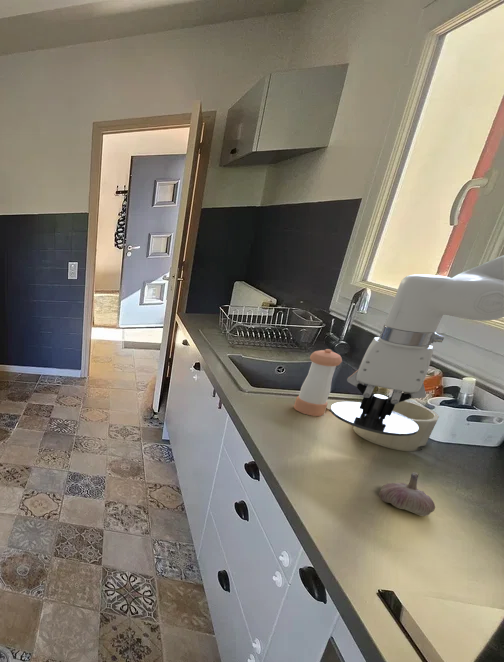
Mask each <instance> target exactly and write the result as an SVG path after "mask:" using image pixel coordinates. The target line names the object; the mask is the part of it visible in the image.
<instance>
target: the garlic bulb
mask: <svg viewBox="0 0 504 662" xmlns="http://www.w3.org/2000/svg"><path fill="white" fill-rule="evenodd" d="M418 479H419V472H416V471H413V472H412V473H410V479H409V482H408V484H406V483H404V482H389V483H385V484H383V486H382V487H381V488H380V491H379V493H378V496H379V498H380V500H381V501H382V502H384V503H386V504H391V505H392V506H393V507H395V508H397V509H399V510H405V511H407V512H410V513H413V514H414V515H417V516H420V517H427V516H429V515H430V514H431V513H433V512H434V511H435V509H436V505H435V502H434V500H433V499H432V498H431V497H430V496H429V495H428V494H426V493H425V492H424V490H421V489H418V486H417V484H418Z"/></svg>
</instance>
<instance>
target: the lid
mask: <svg viewBox="0 0 504 662" xmlns="http://www.w3.org/2000/svg"><path fill="white" fill-rule="evenodd" d="M372 396H373V397H372V402H371V404H370V407H369V409H368V412H367V414H365V415H363V414H362V411H363V409H359V408H360V405H361V402H357V401H337V402H334V403H333V404H331V405H330V408H329V411H330V413H331V414H332V415H333V416H335V418H337V419H338V420H340V421H342V422H343V423H346V424H348V425H351V426H352V427H353V426H355V427H358V428H361V429H364V430H367V431H371V432H375V433H380V434H385V435H393V436H410V435H414V434H416V433H417V432H418V430H419V427H418V425H417V424H416V423H415V422H414V421H413V420H411V419H410V418H408V417H406V416H404V415H402V414H400V413H397V412H395V411H392V413H391V416H388V415H386V417H385V419H384V420H383V419H381V418H380V416H381V414H382V411H383V409H384V407H385V404H386V402H387V400H388V397H389V396H386V395H383V394H379V393H375V394H373V395H372Z"/></svg>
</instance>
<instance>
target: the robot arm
mask: <svg viewBox="0 0 504 662" xmlns="http://www.w3.org/2000/svg"><path fill="white" fill-rule="evenodd" d="M443 316H449V317H455V318H460V319H465V320H471V321H478V322H480V321H481V322H482V321H483V322H484V321H493V320H498V319H502V318H504V254H503V255H500V256H498V257H495V258H493V259H491V260H488V261H485V262H484V263H481V264H479V265H477V266H474V267H472V268H469V269H467V270H465V271H461V272H460V273H458V274H456V275H454V276H453V277H449V276H444V275H438V274H424V273H423V274H422V273H420V274H419V273H418V274H417V273H416V274H409V275H407V276H405V277H403V278H402V279H401V281H400V283H399V286H398V288H397V290H396V294H395V296H394V298H393V301H392V304H391V306H390V309H389V312H388V314H387V316H386V319H385V321H384V324H383V327H382V329H381V332H380V335H379V336H375V337H374V338H373V339H372V340H371V342H370V344H369V345H368V347H367V348H366V351H365V354H364V355H363V357H362V358H361V359H362V360H361V361H360V364H359V366H358V369H357V370H355V371H354V372H353V373H352V374H351V375H350V376H348V377H347V379H346V381H347V383H349V384H351V385H352V386H354V387H356V388H357V389H358V391H359V392H360V393H361V395H362V399H361V402H360V403H361V405H360V408H359V409H363V411H362V414H363V415H365V414H367V412H368V409H369V407H370V404H371V402H372V397H373V395H374V394H373V392H374V390H375V388H376V387H378V388H383V389H388V390H392V393H391V395H390V396H388V397H389V398H388V400H387V402H386V404H385V407H384V409H383V411H382V414H381V416H380V418H381V419H383V420H384V419H385V417H386V415H388V416H391V413H392V411H393V409H394V406H395V404H398V403H399V402H402V401H405V400H406V401H409V400H411V399H424V398H426V397H427V391H426V389H425V384H424V382H425V379H426V376H427V374H428V371H429V368H430V365H431V360H432V357H433V353H434V346H433V345H432V344H434V343H443V341H444V339H445V335H441V334H439V333H437V332H436V331H437V329H438V327H439V325H440V322H441V320H442V318H443Z"/></svg>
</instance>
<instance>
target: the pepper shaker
mask: <svg viewBox="0 0 504 662" xmlns="http://www.w3.org/2000/svg"><path fill="white" fill-rule="evenodd" d="M342 358H343V357H342V356H341V355H340V354H339V353H336V352H334V351H333V350H332V349H330V348H326V349H321V350H320V349H319V350H315V351H313V352H312V353H311V354H310V356H309V360H310V361H311V364H310V366H309V370H308V373H307V376H306V377H305V379H304V380H303V382H302V385H301V387H300V390H299V393H298V394H299V395H297V396H296V398H295V401H294V405H293V409H294V410H295V411H297V412H299V413H301V414H304V415H308V416H312V417H322V416H324V415H325V413H326V410H327V407H328V399H329V396H330V394H331V391H332V382H333V381H332V380H333V378H334V375H335V371H336V368H337V367H338V366H340V365H341V363H342V362H343V359H342Z"/></svg>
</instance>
